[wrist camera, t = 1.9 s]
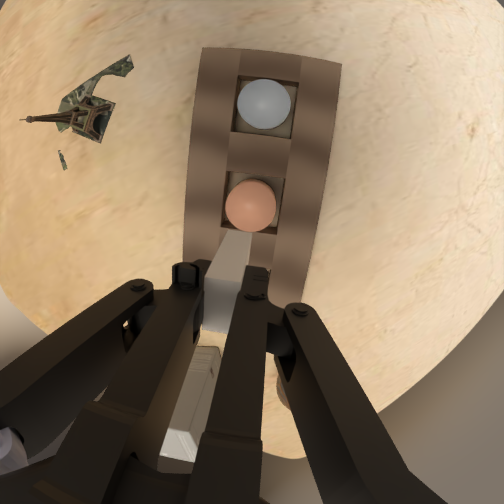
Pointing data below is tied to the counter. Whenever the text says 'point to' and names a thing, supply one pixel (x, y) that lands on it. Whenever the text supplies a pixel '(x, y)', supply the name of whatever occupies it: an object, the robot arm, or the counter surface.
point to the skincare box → (192, 405)
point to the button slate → (264, 104)
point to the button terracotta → (251, 205)
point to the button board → (260, 160)
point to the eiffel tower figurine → (86, 107)
